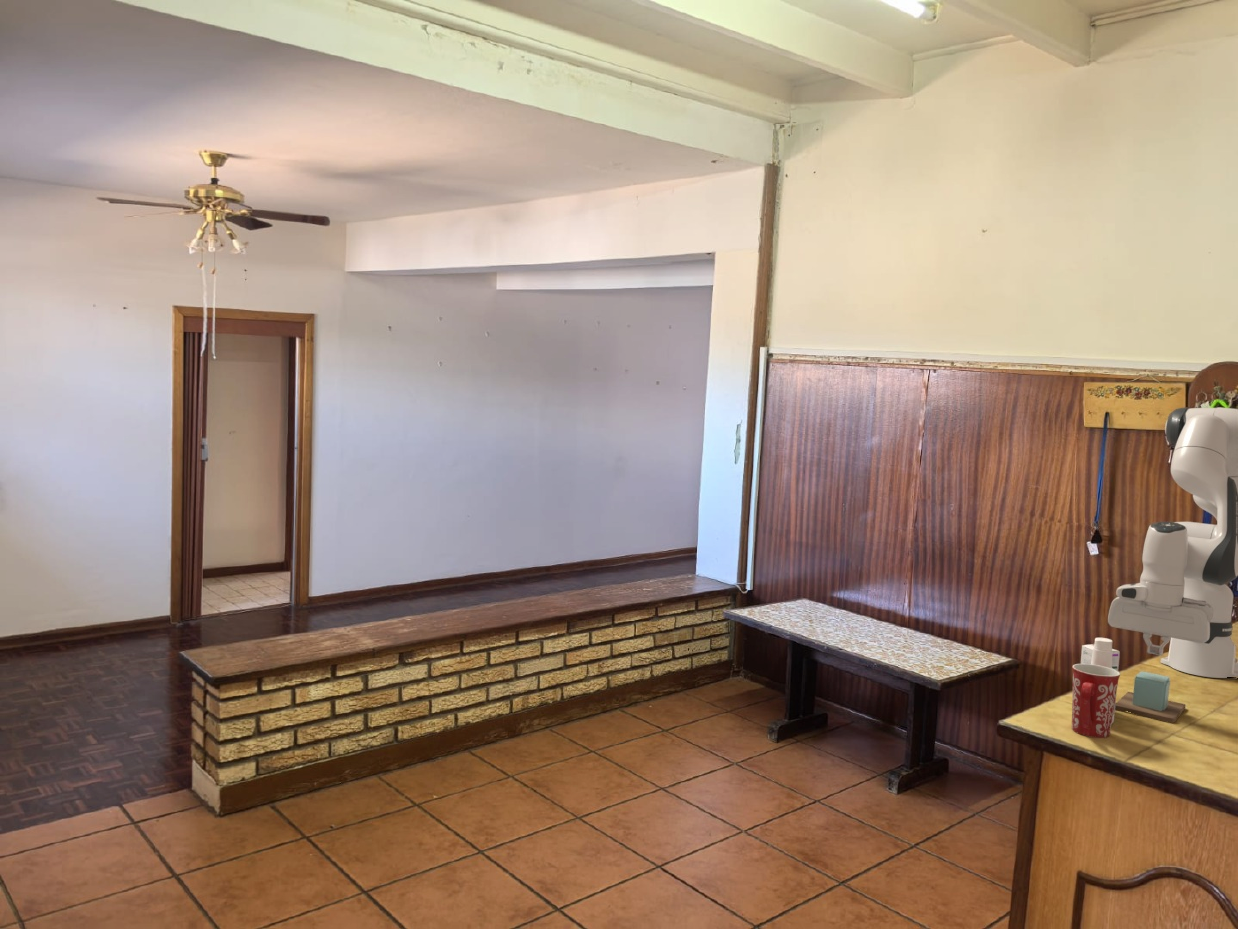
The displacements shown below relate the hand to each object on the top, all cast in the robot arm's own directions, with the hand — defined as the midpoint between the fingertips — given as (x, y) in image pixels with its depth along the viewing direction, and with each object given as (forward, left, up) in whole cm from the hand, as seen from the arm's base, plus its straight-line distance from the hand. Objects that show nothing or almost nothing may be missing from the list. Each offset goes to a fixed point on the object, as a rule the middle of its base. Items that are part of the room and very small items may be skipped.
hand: (1154, 653), depth 218 cm
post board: (0, 0, -13) cm, 13 cm away
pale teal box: (0, 0, -12) cm, 12 cm away
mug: (+29, -6, -13) cm, 32 cm away
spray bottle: (+18, -7, -13) cm, 23 cm away
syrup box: (+11, -9, -13) cm, 19 cm away
